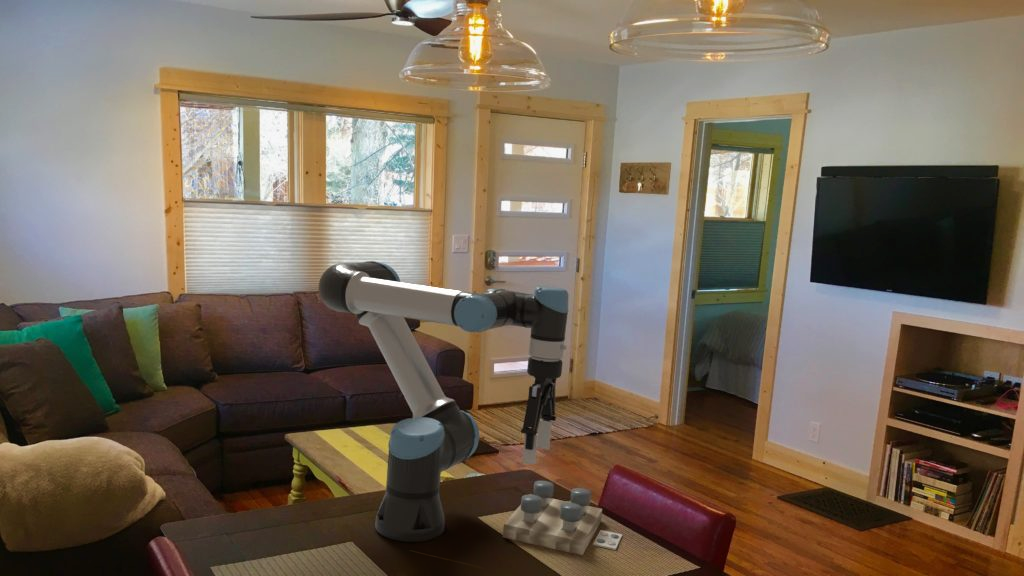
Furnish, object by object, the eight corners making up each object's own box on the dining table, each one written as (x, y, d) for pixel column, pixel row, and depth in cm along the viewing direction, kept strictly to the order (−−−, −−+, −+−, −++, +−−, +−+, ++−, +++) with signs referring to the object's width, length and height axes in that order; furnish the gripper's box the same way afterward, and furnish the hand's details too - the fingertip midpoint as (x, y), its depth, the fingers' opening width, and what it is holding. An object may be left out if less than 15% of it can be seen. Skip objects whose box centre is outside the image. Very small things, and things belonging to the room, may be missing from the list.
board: (502, 537, 164) (503, 524, 164) (528, 505, 183) (529, 493, 183) (582, 555, 159) (584, 541, 159) (601, 521, 178) (602, 508, 178)
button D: (566, 516, 173) (569, 493, 172) (571, 509, 177) (573, 486, 177) (586, 521, 171) (588, 497, 171) (590, 513, 176) (593, 490, 175)
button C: (555, 533, 163) (558, 508, 163) (561, 525, 168) (563, 501, 167) (576, 537, 162) (579, 512, 161) (581, 529, 166) (583, 505, 166)
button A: (516, 524, 166) (519, 499, 165) (522, 517, 170) (525, 493, 170) (536, 529, 165) (539, 504, 164) (542, 521, 169) (544, 497, 168)
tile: (593, 545, 164) (593, 542, 164) (600, 531, 172) (600, 529, 172) (615, 550, 163) (615, 547, 163) (621, 536, 170) (622, 533, 170)
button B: (529, 508, 175) (531, 485, 175) (535, 502, 180) (537, 479, 179) (548, 512, 174) (550, 489, 174) (553, 506, 178) (555, 483, 178)
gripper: (548, 369, 152) (537, 474, 154) (574, 352, 174) (565, 444, 176) (513, 364, 154) (503, 467, 156) (543, 347, 176) (534, 438, 178)
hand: (536, 455), depth 166 cm, fingers open, 11 cm apart
